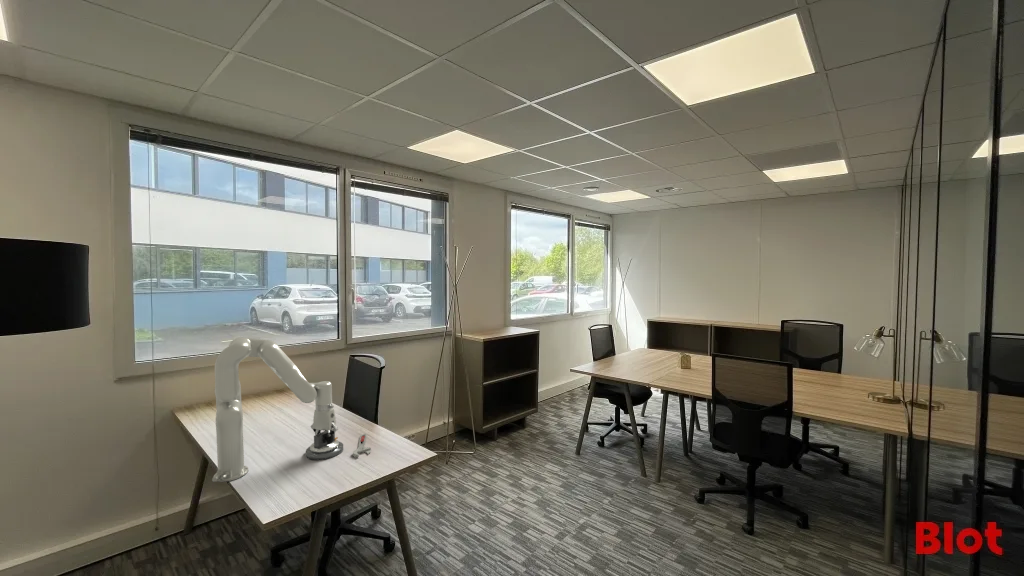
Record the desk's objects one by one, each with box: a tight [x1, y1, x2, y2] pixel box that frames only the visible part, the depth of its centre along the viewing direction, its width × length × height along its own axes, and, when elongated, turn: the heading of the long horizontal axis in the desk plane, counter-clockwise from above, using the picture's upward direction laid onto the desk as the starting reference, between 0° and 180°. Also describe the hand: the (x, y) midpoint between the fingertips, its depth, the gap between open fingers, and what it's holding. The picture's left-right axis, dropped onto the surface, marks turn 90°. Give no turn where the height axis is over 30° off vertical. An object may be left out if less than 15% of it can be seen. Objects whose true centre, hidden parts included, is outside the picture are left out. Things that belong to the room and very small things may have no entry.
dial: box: [309, 429, 340, 453], centre depth 198 cm, size 14×13×8 cm
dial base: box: [305, 441, 344, 461], centre depth 197 cm, size 17×17×2 cm
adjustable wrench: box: [352, 433, 372, 458], centre depth 204 cm, size 8×26×2 cm, turn 11°
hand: (324, 442), depth 197 cm, fingers open, 5 cm apart
